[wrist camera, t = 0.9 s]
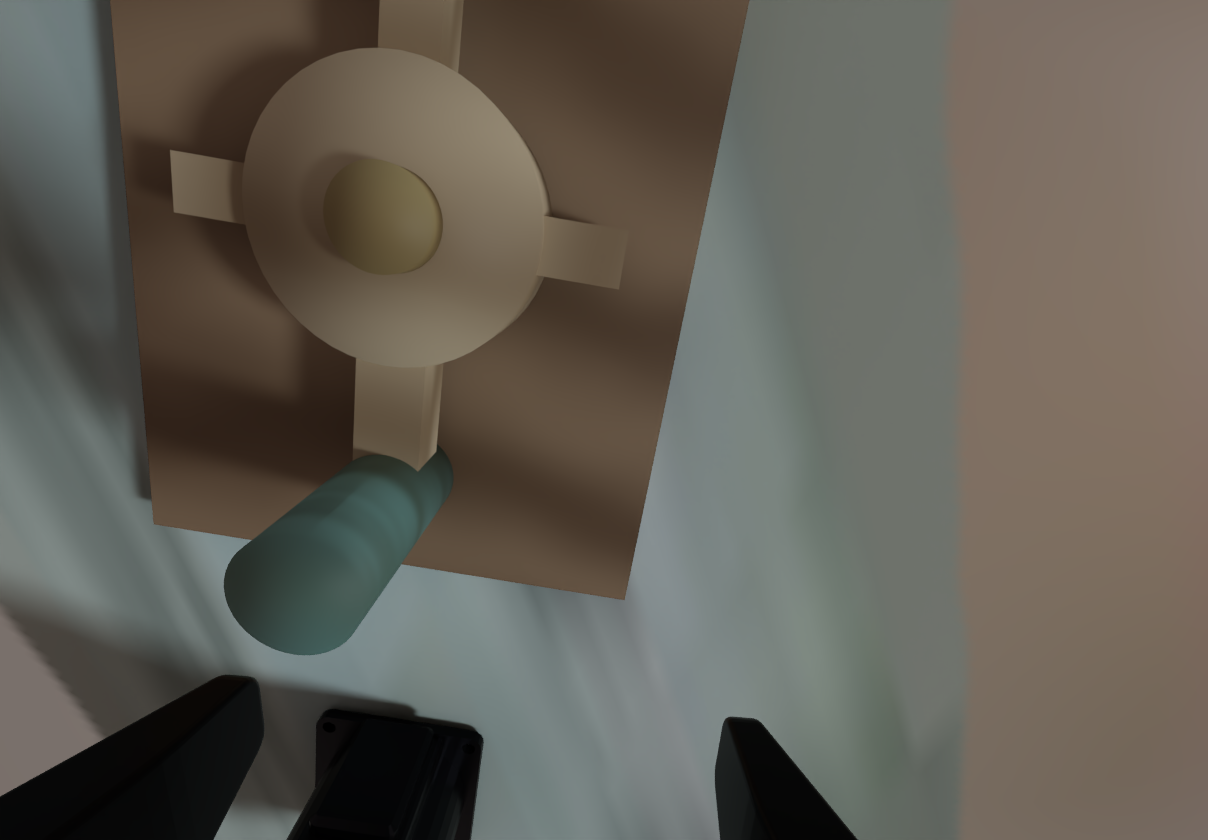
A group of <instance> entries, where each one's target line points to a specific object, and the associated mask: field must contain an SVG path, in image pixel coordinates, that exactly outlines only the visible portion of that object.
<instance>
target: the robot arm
mask: <svg viewBox="0 0 1208 840" xmlns="http://www.w3.org/2000/svg"><path fill="white" fill-rule="evenodd" d="M332 723H333V724H332ZM263 736H264V719H263V711H262V704H261V696H260V688H259V684H258V682H257V681H256V679H255V678H252V677H248V676H236V675H221V676H218V677H216V678H214V679H212V680H210V681H208V682H207V683H205V684H203V685H201V686H199V687H198V688H196V689H194V690H192V691H190V692H189V693H187V694H185V695H183V696H181V697H179V698H178V699H176V700H174V701H172V702H170V703H169V704H167V705H165V706H163V707H161V708H160V709H158V710H156V711H154V712H152V713H150V714H149V715H147V716H145V717H143V718H141V719H140V720H138V721H136V722H134V723H132V724H131V725H129V726H127V727H125V728H123V729H122V730H120V731H118V732H116V733H114V734H112V735H111V736H109V737H107V738H105V739H103V740H102V741H100V742H98V743H96V744H94V745H93V746H91V747H89V748H87V749H85V750H84V751H82V752H80V753H78V754H77V755H75V756H73V757H71V758H69V759H67V760H65V761H64V762H62V763H60V764H58V765H56V766H54V767H53V768H51V769H49V770H47V771H45V772H44V773H42V774H40V775H39V776H36V777H35V778H33V779H31V780H29V781H27V782H26V783H24V784H22V785H20V786H18V787H17V788H15V789H13V790H11V791H9V792H7V793H6V794H4V795H2V796H0V840H213V839H214V837H215V835H216V833H217V831H218V829H219V827H220V826H221V824H222V822H223V820H224V818H225V816H226V814H227V812H228V810H229V808H230V806H231V804H232V802H233V800H234V798H235V796H236V794H237V792H238V790H239V788H240V786H241V784H242V782H243V780H244V778H245V776H246V774H247V773H248V771H249V769H250V767H251V765H252V763H253V761H254V759H255V757H256V755H257V753H258V751H259V749H260V746H261V743H262V740H263ZM483 743H484V742H483V738H482V736H481V735H480V734H479V733H478V732H475V731H471V730H465V729H458V728H452V727H446V726H439V725H433V724H426V723H420V722H413V721H407V720H400V719H394V718H387V717H381V716H375V715H368V714H362V713H355V712H349V711H342V710H336V709H329V710H326V711H325V712H324V713H323V714H322V716H321V717H320V719H319V720H318V722H317V725H316V784H315V790H314V792H313V793H312V795H311V797H310V799H309V800H308V802H307V804H306V806H305V808H304V809H303V811H302V813H301V815H300V816H299V818H298V820H297V822H296V823H295V825H294V827H293V829H292V831H291V832H290V834H289V836H288V838H287V839H286V840H471V834H472V826H473V819H474V811H475V803H476V796H477V788H478V781H479V773H480V765H481V758H482V750H483ZM468 744H471V745H468ZM715 790H716V800H717V811H718V821H719V831H720V840H858V839H857V838H856V837H855V836H854V835H853V833H852V832H851V831H850V830H849V829H848V827H847V826H846V825H845V824H844V822H843V821H842V820H841V819H840V818H839V816H838V815H837V814H836V813H835V812H834V810H833V809H832V808H831V807H830V805H829V804H828V803H827V802H826V801H825V799H824V798H823V797H822V796H821V795H820V793H819V792H818V791H817V790H816V789H815V787H814V786H813V785H812V784H811V782H810V781H809V780H808V779H807V778H806V776H805V775H804V774H803V773H802V772H801V770H800V769H799V768H798V767H797V765H796V764H795V763H794V762H793V761H792V759H791V758H790V757H789V756H788V755H787V753H786V752H785V751H784V750H783V748H782V747H781V746H780V745H779V744H778V742H777V741H776V740H775V739H774V738H773V736H772V735H771V734H770V733H769V731H768V730H767V729H766V728H765V727H764V725H763V724H762V723H761V722H759V721H758V720H756V719H753V718H742V717H728V718H726V719H725V721H724V723H723V726H722V732H721V737H720V743H719V749H718V754H717V760H716V766H715Z"/></svg>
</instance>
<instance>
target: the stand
mask: <svg viewBox="0 0 1208 840" xmlns="http://www.w3.org/2000/svg"><path fill="white" fill-rule="evenodd" d="M748 4H749V0H464V3H463V16H462V29H461V42H460V55H459V67H458V74H460V75H462V76H463V77H464V78H466V79H467V80H468V81H469V82H471V83H472V84H473V85H475V86H476V87H477V88H478V89H480V90H481V91H482V92H483V93H484V94H485V95H486V96H487V97H488V98H489V99H490V100H491V101H492V102H493V103H494V104H495V106H496V107H497V108H498V109H499V110H500V111H501V112H502V114H503V115H504V116H505V117H506V118H507V119H508V120H509V122H510V123H511V124H512V125H513V126H514V127H515V129H516V130H517V131H518V132H519V134H520V135H521V136H522V138H523V139H524V140H525V141H526V143H527V144H528V146H529V148H530V149H531V151H532V153H533V154H534V156H535V158H536V160H537V162H538V164H539V166H540V169H541V171H542V173H543V176H544V179H545V182H546V185H547V188H548V192H549V196H550V202H551V207H552V216H553V217H554V218H559V219H565V220H571V221H576V222H582V223H588V224H593V225H599V226H605V227H610V228H616V229H622V230H627V231H629V233H628V239H627V245H626V250H625V256H624V262H623V268H622V274H621V280H620V286H619V290H618V289H613V288H607V287H601V286H595V285H590V284H584V283H578V282H572V281H567V280H561V279H555V278H549V277H544V279H543V281H542V283H541V285H540V287H539V289H538V291H537V293H536V295H535V296H534V298H533V299H532V301H531V302H530V304H529V305H528V307H527V308H526V309H525V310H524V312H523V313H522V314H521V315H520V316H519V317H518V318H517V319H516V320H515V321H514V322H513V323H512V324H510V325H509V326H508V327H507V328H506V329H505V330H503V331H502V332H500V333H499V334H497V335H496V336H495V337H493V338H492V339H490V340H489V341H487V342H486V343H484V344H483V345H481V346H480V347H478V348H477V349H475V350H473V351H472V352H470V353H468V354H466V355H464V356H461V357H459V358H457V359H455V360H451V361H448V362H445V363H443V375H442V387H441V400H440V412H439V424H438V436H437V444H438V445H439V446H440V447H441V448H442V449H443V451H444V452H445V453H446V455H447V456H448V458H449V460H450V463H451V465H452V469H453V476H454V477H453V486H452V489H451V492H450V494H449V496H448V497H447V499H446V500H445V502H444V503H443V505H442V506H441V508H440V509H439V510H438V512H437V513H436V515H435V516H434V518H433V519H432V521H431V522H430V523H429V525H428V526H427V528H426V529H425V531H424V532H423V534H422V535H421V536H420V538H419V539H418V541H417V542H416V544H415V545H414V546H413V548H412V549H411V551H410V552H409V554H408V555H407V557H406V558H405V559H404V561H403V562H402V564H404V565H410V566H417V567H423V568H429V569H435V570H441V571H448V572H454V573H460V574H466V575H472V576H479V577H485V578H491V579H497V580H503V581H510V582H516V583H522V584H528V585H534V586H541V587H547V588H553V589H559V590H566V591H572V592H578V593H584V594H590V595H597V596H603V597H609V598H615V599H621V600H625V595H626V590H627V586H628V581H629V576H630V571H631V566H632V562H633V557H634V552H635V547H636V542H637V538H638V533H639V528H640V523H641V518H642V514H643V509H644V504H645V499H646V494H647V490H648V485H649V480H650V475H651V470H652V466H653V461H654V456H655V451H656V446H657V441H658V437H659V432H660V427H661V422H662V417H663V413H664V408H665V403H666V398H667V393H668V389H669V384H670V379H671V374H672V369H673V365H674V360H675V355H676V350H677V345H678V341H679V336H680V331H681V326H682V321H683V317H684V312H685V307H686V302H687V297H688V293H689V288H690V283H691V278H692V273H693V269H694V264H695V259H696V254H697V249H698V245H699V240H700V235H701V230H702V225H703V221H704V216H705V211H706V206H707V201H708V196H709V192H710V187H711V182H712V177H713V172H714V168H715V163H716V158H717V153H718V148H719V144H720V139H721V134H722V129H723V124H724V120H725V115H726V110H727V105H728V100H729V96H730V91H731V86H732V81H733V76H734V72H735V67H736V62H737V57H738V52H739V48H740V43H741V38H742V33H743V28H744V24H745V19H746V14H747V9H748ZM110 5H111V17H112V29H113V41H114V53H115V65H116V77H117V89H118V101H119V113H120V125H121V137H122V149H123V161H124V173H125V185H126V197H127V209H128V221H129V233H130V245H131V257H132V269H133V281H134V293H135V305H136V317H137V329H138V341H139V353H140V365H141V377H142V389H143V401H144V413H145V425H146V437H147V449H148V461H149V473H150V485H151V497H152V509H153V521H154V524H156V525H162V526H168V527H175V528H181V529H187V530H193V531H199V532H206V533H212V534H218V535H224V536H230V537H237V538H243V539H249V540H253V539H254V538H255V537H257V536H258V535H259V534H260V533H262V532H263V531H264V530H265V529H267V528H268V527H269V526H271V525H272V524H273V523H274V522H276V521H277V520H278V519H279V518H281V517H282V516H283V515H284V514H286V513H287V512H288V511H289V510H291V509H292V508H293V507H295V506H296V505H297V504H298V503H300V502H301V501H302V500H303V499H305V498H306V497H307V496H308V495H310V494H311V493H312V492H313V491H315V490H316V489H317V488H319V487H320V486H321V485H322V484H324V483H325V482H326V481H327V480H329V479H330V478H331V477H332V476H334V475H335V474H336V473H337V472H339V471H340V470H341V469H343V468H344V467H345V466H346V465H348V464H349V463H350V462H351V461H353V434H354V405H355V376H356V358H355V357H353V356H350V355H348V354H346V353H344V352H342V351H340V350H338V349H336V348H334V347H332V346H330V345H329V344H327V343H326V342H324V341H323V340H321V339H320V338H318V337H317V336H315V335H314V334H313V333H312V332H310V331H309V330H308V329H307V328H306V327H304V326H303V325H302V324H301V323H300V322H299V321H298V320H297V319H296V318H295V317H294V316H293V315H292V314H291V313H290V312H289V311H288V310H287V309H286V307H285V306H284V305H283V303H282V302H281V301H280V299H279V298H278V297H277V296H276V294H275V293H274V291H273V290H272V288H271V287H270V285H269V283H268V282H267V280H266V278H265V277H264V275H263V273H262V271H261V269H260V266H259V264H258V262H257V260H256V258H255V256H254V253H253V249H252V246H251V243H250V240H249V237H248V234H247V229H246V225H244V224H239V223H233V222H227V221H221V220H216V219H210V218H204V217H198V216H193V215H187V214H181V213H175V212H174V207H173V190H172V174H171V157H170V150H174V151H179V152H185V153H191V154H196V155H202V156H208V157H213V158H219V159H225V160H230V161H236V162H242V163H244V162H245V156H246V151H247V148H248V145H249V141H250V138H251V135H252V132H253V130H254V128H255V126H256V124H257V122H258V119H259V117H260V115H261V113H262V112H263V110H264V109H265V107H266V106H267V104H268V103H269V101H270V100H271V98H272V97H273V96H274V95H275V94H276V93H277V92H278V90H279V89H280V88H281V87H282V86H283V85H284V84H285V83H286V82H287V81H288V80H289V79H291V78H292V77H293V76H294V75H296V74H297V73H298V72H299V71H301V70H302V69H304V68H306V67H307V66H309V65H311V64H313V63H314V62H316V61H318V60H320V59H323V58H325V57H328V56H331V55H333V54H336V53H339V52H344V51H349V50H354V49H360V48H378V31H379V6H380V0H110Z"/></svg>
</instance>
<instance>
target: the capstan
mask: <svg viewBox="0 0 1208 840" xmlns="http://www.w3.org/2000/svg"><path fill="white" fill-rule="evenodd" d="M463 3H464V0H380V6H379V31H378V48H360V49H354V50H349V51H344V52H339V53H336V54H333V55H331V56H328V57H325V58H323V59H320V60H318V61H316V62H314V63H313V64H311V65H309V66H307V67H306V68H304V69H302V70H301V71H299V72H298V73H297V74H296V75H294V76H293V77H292V78H291V79H289V80H288V81H287V82H286V83H285V84H284V85H283V86H282V87H281V88H280V89H279V90H278V92H277V93H276V94H275V95H274V96H273V97H272V98H271V100H270V101H269V103H268V104H267V106H266V107H265V109H264V110H263V112H262V113H261V115H260V117H259V119H258V122H257V124H256V126H255V128H254V130H253V132H252V135H251V138H250V141H249V145H248V148H247V151H246V156H245V162H244V163H242V162H236V161H230V160H225V159H219V158H213V157H208V156H202V155H196V154H191V153H185V152H179V151H174V150H170V157H171V174H172V190H173V207H174V212H175V213H181V214H187V215H193V216H198V217H204V218H210V219H216V220H221V221H227V222H233V223H239V224H244V225H246V229H247V234H248V237H249V240H250V243H251V246H252V249H253V253H254V256H255V258H256V260H257V262H258V264H259V266H260V269H261V271H262V273H263V275H264V277H265V278H266V280H267V282H268V283H269V285H270V287H271V288H272V290H273V291H274V293H275V294H276V296H277V297H278V298H279V299H280V301H281V302H282V303H283V305H284V306H285V307H286V309H287V310H288V311H289V312H290V313H291V314H292V315H293V316H294V317H295V318H296V319H297V320H298V321H299V322H300V323H301V324H302V325H303V326H304V327H306V328H307V329H308V330H309V331H310V332H312V333H313V334H314V335H315V336H317V337H318V338H320V339H321V340H323V341H324V342H326V343H327V344H329V345H330V346H332V347H334V348H336V349H338V350H340V351H342V352H344V353H346V354H348V355H350V356H353V357H355V358H356V376H355V405H354V434H353V461H351V462H350V463H349V464H348V465H346V466H345V467H344V468H343V469H341V470H340V471H339V472H337V473H336V474H335V475H334V476H332V477H331V478H330V479H329V480H327V481H326V482H325V483H324V484H322V485H321V486H320V487H319V488H317V489H316V490H315V491H313V492H312V493H311V494H310V495H308V496H307V497H306V498H305V499H303V500H302V501H301V502H300V503H298V504H297V505H296V506H295V507H293V508H292V509H291V510H289V511H288V512H287V513H286V514H284V515H283V516H282V517H281V518H279V519H278V520H277V521H276V522H274V523H273V524H272V525H271V526H269V527H268V528H267V529H265V530H264V531H263V532H262V533H260V534H259V535H258V536H257V537H255V538H254V539H253V540H252V541H250V542H249V543H248V544H247V545H245V546H244V547H243V548H242V549H240V550H239V551H238V552H237V553H236V554H235V555H234V557H233V558H232V559H231V561H230V563H229V564H228V567H227V570H226V573H225V578H224V591H225V597H226V601H227V604H228V606H229V608H230V611H231V612H232V614H233V616H234V618H235V619H236V620H237V622H238V623H239V624H240V625H241V626H242V627H243V629H244V630H245V631H246V632H248V633H249V634H250V635H251V636H252V637H254V638H255V639H257V640H258V641H259V642H261V643H263V644H265V645H267V646H269V647H271V648H273V649H275V650H278V651H282V652H285V653H290V654H296V655H315V654H321V653H325V652H328V651H331V650H333V649H335V648H337V647H339V646H341V645H342V644H343V643H345V642H346V641H347V640H348V639H349V638H350V637H351V636H352V634H353V633H354V632H355V630H356V629H357V627H358V626H359V624H360V623H361V621H362V620H363V619H364V617H365V616H366V614H367V613H368V611H369V610H370V608H371V607H372V606H373V604H374V603H375V601H376V600H377V598H378V597H379V595H380V594H381V593H382V591H383V590H384V588H385V587H386V585H387V584H388V583H389V581H390V580H391V578H392V577H393V575H394V574H395V572H396V571H397V570H398V568H399V567H400V565H401V564H402V562H403V561H404V559H405V558H406V557H407V555H408V554H409V552H410V551H411V549H412V548H413V546H414V545H415V544H416V542H417V541H418V539H419V538H420V536H421V535H422V534H423V532H424V531H425V529H426V528H427V526H428V525H429V523H430V522H431V521H432V519H433V518H434V516H435V515H436V513H437V512H438V510H439V509H440V508H441V506H442V505H443V503H444V502H445V500H446V499H447V497H448V496H449V494H450V492H451V489H452V486H453V477H454V476H453V469H452V465H451V463H450V460H449V458H448V456H447V455H446V453H445V452H444V451H443V449H442V448H441V447H440V446H439V445H438V444H437V436H438V424H439V412H440V400H441V387H442V375H443V363H445V362H448V361H451V360H455V359H457V358H459V357H461V356H464V355H466V354H468V353H470V352H472V351H473V350H475V349H477V348H478V347H480V346H481V345H483V344H484V343H486V342H487V341H489V340H490V339H492V338H493V337H495V336H496V335H497V334H499V333H500V332H502V331H503V330H505V329H506V328H507V327H508V326H509V325H510V324H512V323H513V322H514V321H515V320H516V319H517V318H518V317H519V316H520V315H521V314H522V313H523V312H524V310H525V309H526V308H527V307H528V305H529V304H530V302H531V301H532V299H533V298H534V296H535V295H536V293H537V291H538V289H539V287H540V285H541V283H542V281H543V279H544V277H549V278H555V279H561V280H567V281H572V282H578V283H584V284H590V285H595V286H601V287H607V288H613V289H618V290H619V286H620V280H621V274H622V268H623V262H624V256H625V250H626V245H627V239H628V233H629V231H627V230H622V229H616V228H610V227H605V226H599V225H593V224H588V223H582V222H576V221H571V220H565V219H559V218H554V217H553V216H552V207H551V202H550V196H549V192H548V188H547V185H546V182H545V179H544V176H543V173H542V171H541V169H540V166H539V164H538V162H537V160H536V158H535V156H534V154H533V153H532V151H531V149H530V148H529V146H528V144H527V143H526V141H525V140H524V139H523V138H522V136H521V135H520V134H519V132H518V131H517V130H516V129H515V127H514V126H513V125H512V124H511V123H510V122H509V120H508V119H507V118H506V117H505V116H504V115H503V114H502V112H501V111H500V110H499V109H498V108H497V107H496V106H495V104H494V103H493V102H492V101H491V100H490V99H489V98H488V97H487V96H486V95H485V94H484V93H483V92H482V91H481V90H480V89H478V88H477V87H476V86H475V85H473V84H472V83H471V82H469V81H468V80H467V79H466V78H464V77H463V76H462V75H460V74H458V67H459V55H460V42H461V29H462V16H463Z"/></svg>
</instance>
